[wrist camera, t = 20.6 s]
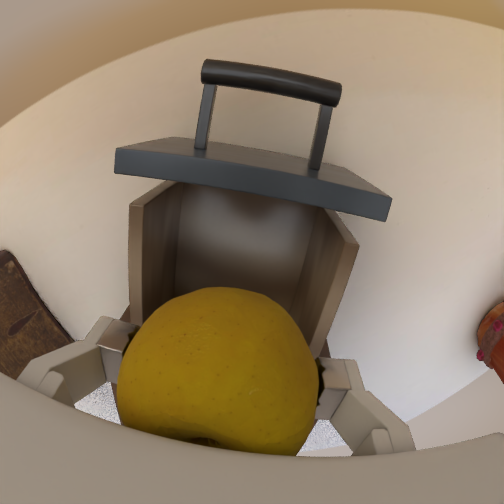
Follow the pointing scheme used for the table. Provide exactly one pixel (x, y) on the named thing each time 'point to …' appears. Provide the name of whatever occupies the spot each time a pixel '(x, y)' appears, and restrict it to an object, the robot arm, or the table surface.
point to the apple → (221, 374)
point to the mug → (492, 340)
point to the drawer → (246, 211)
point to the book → (23, 321)
